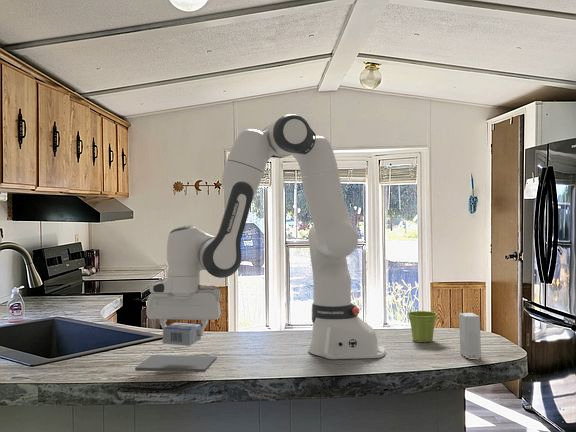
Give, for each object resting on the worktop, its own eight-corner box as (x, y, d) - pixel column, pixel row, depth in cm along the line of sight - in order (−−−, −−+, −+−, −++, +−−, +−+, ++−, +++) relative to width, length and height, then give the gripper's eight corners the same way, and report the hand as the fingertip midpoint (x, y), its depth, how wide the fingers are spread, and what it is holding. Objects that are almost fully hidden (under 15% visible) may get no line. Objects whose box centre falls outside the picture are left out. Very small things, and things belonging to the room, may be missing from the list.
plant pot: (404, 342, 183) (403, 314, 182) (411, 336, 191) (411, 310, 191) (434, 345, 178) (434, 317, 178) (440, 338, 187) (440, 312, 187)
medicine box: (162, 327, 155) (174, 321, 163) (161, 344, 155) (174, 337, 163) (190, 329, 153) (201, 323, 162) (190, 346, 153) (201, 339, 162)
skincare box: (481, 359, 162) (481, 316, 161) (465, 359, 161) (465, 316, 161) (474, 354, 168) (473, 312, 168) (458, 354, 168) (458, 312, 167)
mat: (216, 358, 165) (216, 356, 165) (205, 371, 152) (205, 369, 152) (152, 357, 167) (152, 354, 167) (135, 369, 154) (135, 367, 154)
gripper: (223, 284, 161) (223, 333, 161) (151, 283, 163) (152, 332, 164) (217, 287, 155) (218, 338, 155) (143, 286, 157) (144, 337, 157)
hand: (183, 335), depth 159 cm, fingers closed on medicine box, 8 cm apart
